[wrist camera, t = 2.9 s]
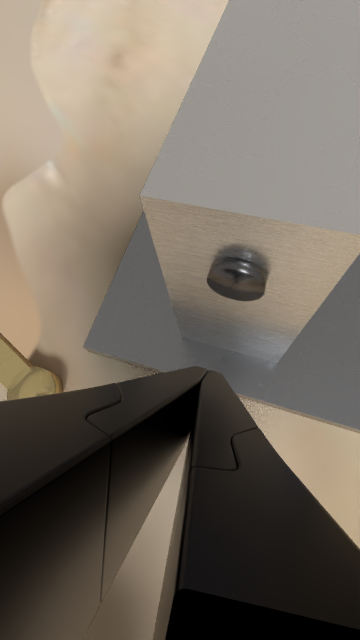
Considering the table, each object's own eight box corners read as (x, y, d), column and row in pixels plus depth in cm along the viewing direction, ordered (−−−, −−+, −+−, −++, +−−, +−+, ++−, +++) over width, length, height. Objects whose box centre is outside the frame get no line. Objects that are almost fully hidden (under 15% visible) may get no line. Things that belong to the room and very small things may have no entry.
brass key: (71, 390, 20) (63, 386, 19) (37, 427, 19) (26, 426, 18) (4, 324, 22) (-7, 318, 21) (-28, 356, 22) (-42, 351, 21)
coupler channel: (374, 437, 17) (417, 435, 14) (88, 351, 21) (62, 331, 17) (406, 90, 27) (436, 35, 24) (209, 73, 31) (208, 23, 27)
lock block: (275, 370, 18) (369, 254, 7) (179, 344, 19) (133, 209, 8) (316, 176, 23) (408, -65, 12) (238, 165, 25) (258, -64, 14)
